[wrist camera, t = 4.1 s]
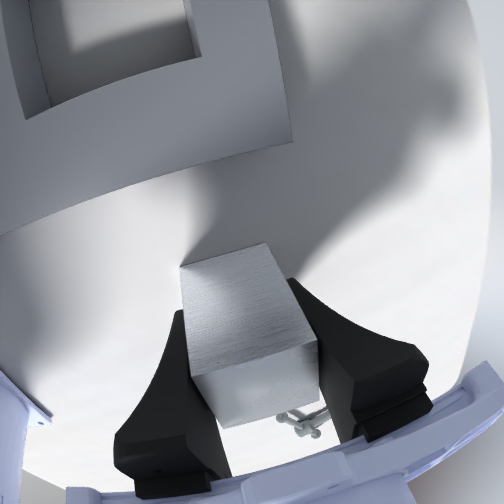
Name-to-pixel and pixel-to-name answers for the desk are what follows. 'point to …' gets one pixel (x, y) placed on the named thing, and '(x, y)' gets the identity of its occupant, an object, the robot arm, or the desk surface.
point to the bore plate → (136, 112)
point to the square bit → (247, 337)
